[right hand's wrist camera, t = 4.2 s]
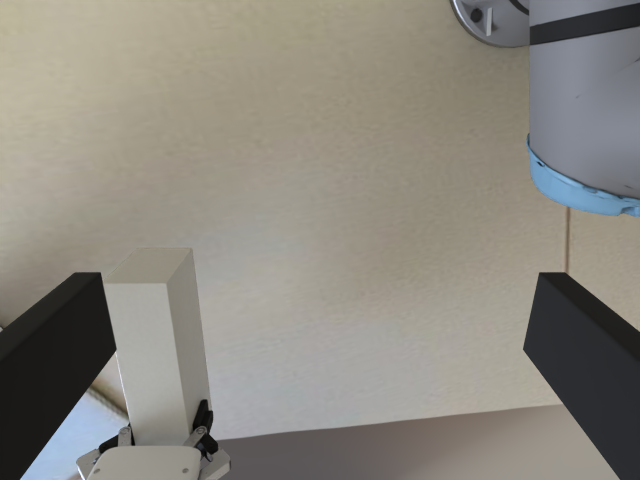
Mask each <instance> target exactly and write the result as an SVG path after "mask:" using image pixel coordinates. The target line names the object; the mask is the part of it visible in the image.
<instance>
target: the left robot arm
mask: <svg viewBox="0 0 640 480" xmlns="http://www.w3.org/2000/svg"><path fill="white" fill-rule="evenodd" d="M2 330H3V329H2V328H1V327H0V332H1V331H2ZM212 423H213V411H212V410H209V407H208V400H207V399H202V400H201V402H200V405H199V408H198V411H197V413H196V416H195V419H194V422H193V431H194V432H193V433H192V434H191V435H190V437H189V438H188V439H187V440H186V441H185V442H184V444H183V445H182V446H135V441H134V436H133V432H132V427H131V422H130V423H129V425H128V426H127V427H123V428H121V429H120V431H119V434H118V435H117V436H115V437H113V438H111V439H109V440H108V441H106V442H104V443H102V444H101V445H100V446H99V448H98V449H94V450H93V451H91V452H89V453H87V454H85V455H83V456H82V457H80V458H78V460H77V461H76V463H77V467H78V470H79V473H80V475H81V477H82V479H83V480H218V479H219V478H220V477H222V476H223V475H224V474H226V473H227V472H228V471H229V470H230V469H231V461H230V457H229V455H228V454H227V453H225V451H224V450H223V449H222V448H220V447H219V446H218V443H217V442H216V441H215V440H214V439H213V438H212V437H211V436H210V435H209V433H210V429H211V426H212ZM204 456H205V458H206V459H207V460H208V461H209V462H211V463H210V464H208V465H207V466H206V467H204V468H203V469H201V470H200V465H201V463H200V461H201V460H202V458H203V457H204Z"/></svg>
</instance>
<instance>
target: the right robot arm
mask: <svg viewBox="0 0 640 480" xmlns="http://www.w3.org/2000/svg"><path fill="white" fill-rule="evenodd" d="M450 3H451V6H452V9H453V11H454V14H455V15H456V17H457V19H458V21H459V22H460V24H461V25H462V26H463V27H464V29H465V30H466V31H467V32H468V33H469V34H471V35H472V36H473V37H474V38H476V39H477V40H479V41H481V42H483V43H485V44H488V45H491V46H495V47H501V48H514V47H521V46H527V45H529V123H530V133H529V134H528V136H527V142H526V144H527V147H528V152H529V154H530V172H531V178H532V179H533V182H534V184H535V186H536V187H537V189H538V190H539V191H540V192H541V193H543V194H544V195H545V196H547V197H548V198H550V199H551V200H553V201H555V202H557V203H560V204H562V205H565V206H568V207H571V208H574V209H577V210H581V211H585V212H590V213H595V214H602V215H610V216H618V215H620V214H622V213H625V214H629V215H632V216H634V217H640V0H450ZM116 350H117V347H116V342H115V338H114V333H113V328H112V324H111V319H110V314H109V309H108V305H107V300H106V295H105V291H104V286H103V281H102V276H101V272H75V273H74V274H72V275H71V276H70V277H69V278H67V279H66V280H65V281H64V282H62V283H61V284H60V285H59V286H57V287H56V288H55V289H54V290H52V291H51V292H50V293H49V294H47V295H46V296H45V297H44V298H42V299H41V300H40V301H39V302H37V303H36V304H35V305H34V306H32V307H31V308H30V309H28V310H27V311H26V312H25V313H23V314H22V315H21V316H20V317H18V318H17V319H16V320H15V321H13V322H12V323H11V324H10V325H8V326H7V327H6V328H5V329H3V330H2V331H1V332H0V480H20V479H21V477H22V476H23V475H24V473H25V472H26V471H27V469H28V468H29V467H30V465H31V464H32V463H33V461H34V460H35V459H36V457H37V456H38V455H39V453H40V452H41V451H42V449H43V448H44V447H45V445H46V444H47V443H48V441H49V440H50V439H51V437H52V436H53V435H54V433H55V432H56V431H57V429H58V428H59V426H60V425H61V424H62V422H63V421H64V420H65V418H66V417H67V416H68V414H69V413H70V412H71V410H72V409H73V408H74V406H75V405H76V404H77V402H78V401H79V400H80V398H81V397H82V396H83V394H84V393H85V392H86V390H87V389H88V388H89V386H90V385H91V384H92V382H93V381H94V380H95V378H96V377H97V376H98V374H99V373H100V372H101V370H102V369H103V368H104V366H105V365H106V364H107V362H108V361H109V360H110V358H111V357H112V355H113V354H114V353H115V351H116ZM523 350H524V351H525V353H526V354H527V355H528V357H529V358H530V360H531V361H532V362H533V364H534V365H535V366H536V368H537V369H538V370H539V372H540V373H541V374H542V376H543V377H544V378H545V380H546V381H547V382H548V384H549V385H550V386H551V388H552V389H553V390H554V392H555V393H556V394H557V396H558V397H559V398H560V400H561V401H562V402H563V404H564V405H565V406H566V408H567V409H568V410H569V412H570V413H571V414H572V416H573V417H574V418H575V420H576V421H577V422H578V424H579V425H580V426H581V428H582V429H583V430H584V432H585V433H586V434H587V436H588V437H589V439H590V440H591V441H592V443H593V444H594V445H595V446H596V448H597V449H598V451H599V452H600V453H601V455H602V456H603V457H604V459H605V460H606V461H607V463H608V464H609V465H610V467H611V468H612V469H613V471H614V472H615V473H616V475H617V476H618V477H619V479H620V480H640V332H639V331H638V330H637V329H635V328H634V327H633V326H632V325H630V324H629V323H628V322H627V321H625V320H624V319H623V318H622V317H620V316H619V315H618V314H617V313H615V312H614V311H613V310H612V309H610V308H609V307H608V306H606V305H605V304H604V303H603V302H601V301H600V300H599V299H598V298H596V297H595V296H594V295H593V294H591V293H590V292H589V291H588V290H586V289H585V288H584V287H583V286H581V285H580V284H579V283H578V282H576V281H575V280H574V279H573V278H571V277H570V276H569V275H568V274H566V273H565V272H539V276H538V281H537V286H536V291H535V295H534V300H533V305H532V309H531V314H530V319H529V324H528V328H527V333H526V338H525V342H524V347H523Z"/></svg>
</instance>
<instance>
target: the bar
mask: <svg viewBox="0 0 640 480" xmlns="http://www.w3.org/2000/svg"><path fill="white" fill-rule="evenodd" d="M103 286H104V291H105V295H106V300H107V305H108V309H109V314H110V319H111V324H112V328H113V333H114V338H115V342H116V347H117V350H116V351H115V353H116V357H117V362H118V367H119V371H120V376H121V381H122V385H123V390H124V395H125V399H126V404H127V409H128V413H129V418H130V422H131V427H132V432H133V436H134V441H135V446H182V445H183V444H184V442H185V441H186V440H187V439H188V438H189V437H190V435H191V434H192V433H193V432H194V431H193V422H194V419H195V416H196V413H197V411H198V408H199V405H200V402H201V400H202V399H207V400H208V407H209V410H212V407H211V399H210V390H209V382H208V374H207V365H206V357H205V349H204V341H203V332H202V324H201V316H200V308H199V299H198V291H197V283H196V274H195V266H194V258H193V250H192V248H137V249H136V250H135V251H134V252H133V253H132V254H131V255H130V256H129V257H128V258H127V259H126V260H125V261H124V262H123V263H122V264H121V265H120V266H118V267H117V268H116V269H115V270H114V271H113V272H112V273H111V274H110V275H109V276H108V277H107V278H106V279H105V280H104V281H103Z"/></svg>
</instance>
